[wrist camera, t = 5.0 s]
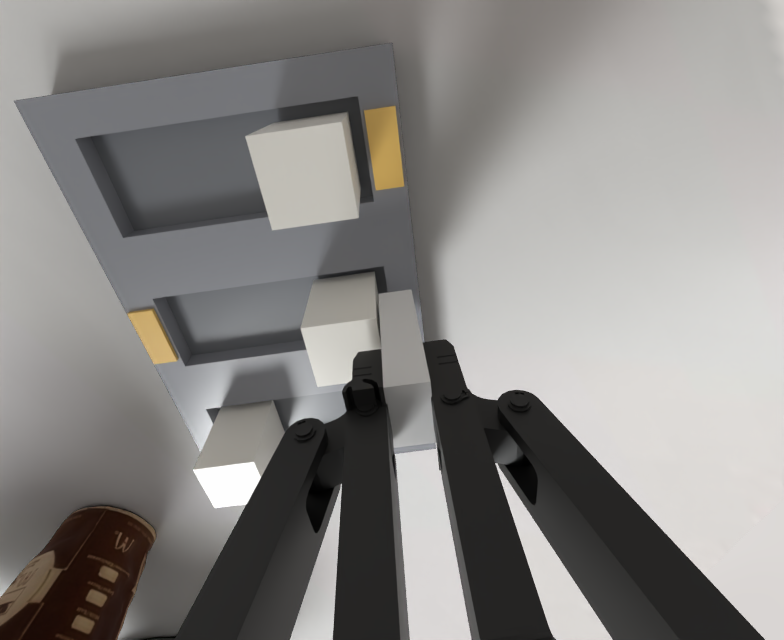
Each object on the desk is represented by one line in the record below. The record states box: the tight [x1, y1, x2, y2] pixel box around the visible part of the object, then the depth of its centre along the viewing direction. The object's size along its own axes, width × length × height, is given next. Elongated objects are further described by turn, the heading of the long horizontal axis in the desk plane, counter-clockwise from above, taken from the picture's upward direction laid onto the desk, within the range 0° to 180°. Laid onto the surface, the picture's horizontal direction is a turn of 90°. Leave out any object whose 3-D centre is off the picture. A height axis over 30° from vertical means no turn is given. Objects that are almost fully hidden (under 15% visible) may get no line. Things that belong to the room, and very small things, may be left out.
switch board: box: [14, 43, 436, 454], centre depth 21 cm, size 14×21×2 cm, turn 7°
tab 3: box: [301, 271, 381, 387], centre depth 19 cm, size 3×3×4 cm
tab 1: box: [193, 400, 285, 508], centre depth 23 cm, size 3×3×4 cm
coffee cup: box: [0, 506, 156, 640], centre depth 25 cm, size 9×8×13 cm
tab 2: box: [245, 112, 361, 230], centre depth 15 cm, size 3×3×4 cm
